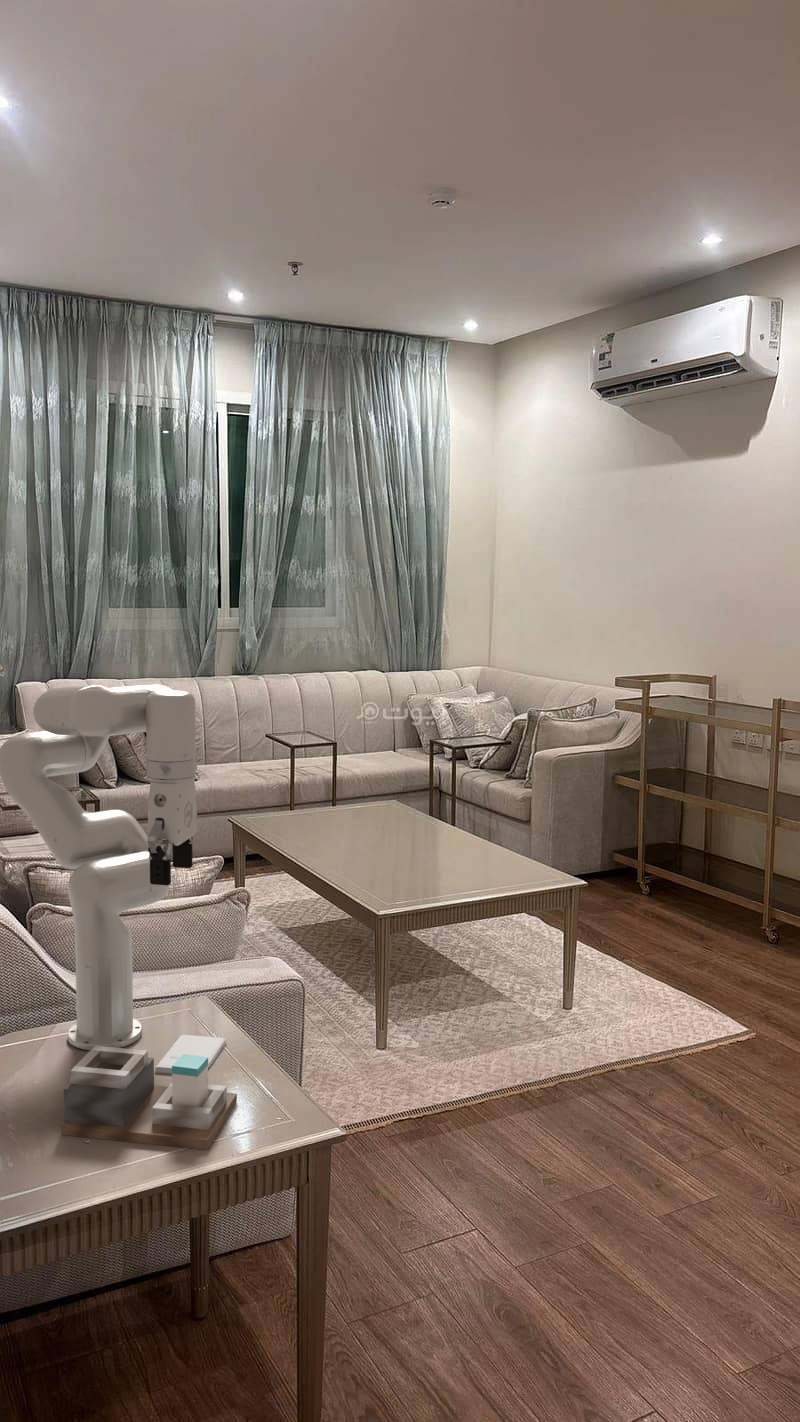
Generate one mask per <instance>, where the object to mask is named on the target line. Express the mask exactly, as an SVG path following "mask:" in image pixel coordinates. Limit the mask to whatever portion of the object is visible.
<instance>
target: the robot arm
mask: <svg viewBox="0 0 800 1422" xmlns="http://www.w3.org/2000/svg"><path fill="white" fill-rule="evenodd" d="M32 713H33V717H34V720H35V722H36V724H37V725H38V726H39V728H40V729H42V730H39V731H30V732H25V733H21V734H17V735H14V736H12V737H10V738H8V739H7V740H5V741H4V742H3V743H2V745H1V746H0V779H1V781H2V785H3V786H4V788H5V790H6V792H7V793H8V795H9V796H10V798H11V799H12V800H13V802H14V803H15V804H16V805H17V806H18V807H19V808H20V809H21V810H22V812H24V813H25V814H26V816H27V817H28V818H29V819H30V821H32V824H33V825H34V826H35V829H36V830H37V831H38V832H37V833H39V835H40V837H41V838H42V840H43V842H44V843H45V845H46V847H47V848H48V850H49V851H50V853H51V855H52V856H53V857H54V859H55V860H56V862H57V863H58V864H59V865H60V866H61V867H62V868H64V869H66V870H73V871H72V873H71V875H70V876H69V879H68V883H67V892H68V897H69V902H70V907H71V912H72V917H73V925H74V926H73V927H74V928H73V929H74V948H75V949H74V951H75V952H74V953H75V994H76V995H75V996H76V997H75V1000H76V1001H75V1003H76V1005H75V1006H74V1010H75V1012H76V1023H75V1024H73V1025H72V1026H71V1027H70V1028H69V1030H68V1031H67V1041H68V1042H69V1044H70V1045H72V1046H73V1047H75V1048H77V1049H80V1050H83V1051H90V1050H91V1049H92V1048H93V1047H94V1046H104V1047H115V1048H124V1047H127V1046H128V1045H131V1044H133V1043H135V1042H136V1041H137V1040H139V1039H140V1037H142V1035H143V1026H142V1023H141V1022H140V1021H139V1020H137V1019H136V1018H134V1003H133V1002H134V997H133V996H134V993H133V992H134V991H133V990H134V987H133V986H134V983H133V981H134V979H133V978H134V977H133V970H134V969H133V937H132V934H131V931H130V930H129V929H130V928H128V926H127V925H126V924H125V923H124V921H123V920H122V919H121V917H120V914H121V913H122V912H123V913H124V912H127V911H129V910H132V909H137V908H141V907H145V906H148V905H152V904H155V903H158V902H159V901H161V900H162V899H164V898H165V897H166V896H167V894H168V892H169V891H170V890H169V889H170V886H171V884H172V867H174V868H179V869H182V868H183V869H191V868H193V841H194V836H195V834H197V832H198V812H197V811H198V809H197V793H196V792H197V791H196V783H195V780H196V778H197V777H196V771H197V767H196V764H197V763H196V762H197V761H196V760H197V759H196V758H197V757H196V700H195V697H194V695H193V694H192V693H191V692H188V691H186V690H177V689H173V688H171V687H168V686H166V685H163V684H145V685H126V686H116V687H106V686H103V685H101V684H100V685H99V684H90V685H75V686H60V687H54V688H51V689H48V690H46V691H44V692H43V693H42V694H40V696H39V697H38V698H37V699H36V701H35V703H34V705H33V711H32ZM138 733H146V734H145V735H146V736H145V737H146V741H145V743H146V745H145V746H146V747H145V748H146V780H147V781H148V782H149V783H150V784H149V791H148V793H149V794H148V795H149V797H148V812H147V814H148V815H147V816H148V817H147V834H148V835H147V834H146V832H145V831H144V829H143V827H142V826H141V824H140V822H139V821H138V820H137V818H135V817H134V816H133V815H132V814H130V813H129V812H127V811H126V810H122V809H106V810H101V811H100V810H99V811H95V812H93V811H87V810H85V809H84V808H83V807H82V806H81V804H80V803H79V801H78V800H77V798H76V796H75V795H74V794H73V793H72V792H70V790H68V789H67V788H66V787H64V786H63V785H61V784H59V783H57V782H55V781H53V780H51V779H49V777H56V776H63V775H72V774H79V773H83V772H86V771H89V770H90V769H91V768H93V767H94V766H95V764H96V763H97V761H98V760H99V759H100V756H101V754H102V752H103V750H104V748H105V746H106V745H107V742H108V741H109V739H110V737H112V736H113V737H114V736H122V735H129V734H138ZM163 847H164V849H163ZM171 849H172V859H171V858H170V859H169V857H170V853H171Z"/></svg>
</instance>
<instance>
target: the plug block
mask: <svg viewBox="0 0 800 1422" xmlns="http://www.w3.org/2000/svg"><path fill="white" fill-rule="evenodd" d="M171 1079H172V1080H171V1083H172V1105H182V1106H192V1107H203V1105H204V1104H205V1102H206V1101H207V1099H208V1084H209V1069H208V1057H203V1056H195V1055H186V1054H183V1055H182V1056H181V1057H180V1058H179V1059H178V1060H177V1061H176V1062H175V1063H174V1064H173V1065H172V1074H171Z"/></svg>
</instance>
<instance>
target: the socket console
mask: <svg viewBox="0 0 800 1422" xmlns="http://www.w3.org/2000/svg"><path fill="white" fill-rule="evenodd" d="M154 1065H155V1058H154V1057H149V1050H145V1049H135V1048H124V1047H121V1048H115V1047H104V1046H94V1047H93V1048H92V1049H91V1050H88V1052H87V1053H86V1055H84V1056H83V1057H82V1058H81V1060H79V1062H77V1063H76V1065H74V1066H73V1068H71V1069H70V1073H69V1074H70V1081H69V1083H68V1084H67V1085H66V1086H65V1087H64V1088H63V1122H62V1123H61V1124H60V1132H61V1134H60V1135H61V1136H69V1135H71V1137H79V1136H80V1137H82V1138H89V1139H98V1140H110V1141H119V1142H127V1143H128V1142H129V1143H135V1144H139V1143H140V1144H146V1145H147V1144H148V1145H156V1146H165V1147H174V1148H184V1149H185V1148H186V1149H193V1150H194V1149H195V1150H203V1151H208V1150H209V1148H210V1147H211V1145H212V1143H213V1141H214V1140H215V1138H216V1137H217V1135H218V1134H219V1132H220V1130H221V1128H222V1127H223V1125H224V1124H225V1122H226V1121H227V1119H228V1118H227V1117H229V1116H230V1114H231V1113H230V1112H232V1111H233V1109H234V1108H235V1107H236V1105H237V1103H238V1097H237V1095H238V1093H234V1092H227V1091H228V1089H227V1085H222V1084H221V1085H220V1084H210V1083H208V1099H207V1101H206V1102H205V1104H204V1105H203V1107H192V1106H182V1105H172V1082H170V1084H169V1086H162V1085H155V1066H154ZM236 1102H237V1103H236ZM235 1104H236V1105H235ZM62 1134H63V1135H62Z"/></svg>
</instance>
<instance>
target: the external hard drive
mask: <svg viewBox="0 0 800 1422" xmlns="http://www.w3.org/2000/svg"><path fill="white" fill-rule="evenodd" d="M226 1044H227V1039H226V1038H224V1037H216V1036H215V1037H214V1036H205V1035H202V1036H201V1035H193V1034H192V1035H191V1034H182V1035H181V1034H180V1036H179V1037H178V1039H176V1040H175V1043H174V1044H173V1045H172V1046H171V1048H169V1050H168V1051H167V1053H166V1054H165V1055H164V1056H163V1057H162V1059H161V1060H160V1062H158V1063H157V1065H156V1066H155V1067H154V1073H160V1074H171V1075H172V1065H173V1064H174V1063H175V1062H176V1061H177V1060H178V1059H179V1058H180V1057H181V1056H182V1055H183V1054H186V1055H195V1056H203V1057H208V1068H209V1067H210V1068H211V1066H212V1065H213V1063H214V1062H215V1060H216V1059H217V1057H218V1056H219V1055H218V1054H220V1053H221V1052H222V1050H223V1049H224V1047H225V1045H226ZM213 1061H214V1062H213ZM211 1064H212V1065H211ZM210 1065H211V1066H210ZM210 1068H209V1069H210Z"/></svg>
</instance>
